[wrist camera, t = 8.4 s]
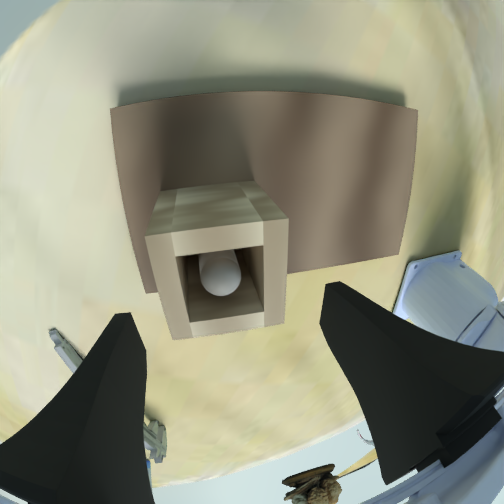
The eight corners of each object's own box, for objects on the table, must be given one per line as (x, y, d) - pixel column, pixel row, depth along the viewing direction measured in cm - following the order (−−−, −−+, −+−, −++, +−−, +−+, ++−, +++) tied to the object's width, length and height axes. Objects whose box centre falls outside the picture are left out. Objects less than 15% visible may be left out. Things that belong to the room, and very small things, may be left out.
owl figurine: (279, 484, 63) (292, 525, 48) (276, 478, 57) (291, 525, 42) (332, 467, 65) (348, 507, 50) (336, 459, 59) (355, 504, 44)
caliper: (166, 424, 30) (169, 465, 24) (159, 426, 30) (162, 466, 24) (56, 326, 19) (36, 380, 14) (49, 329, 19) (29, 381, 14)
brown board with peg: (404, 108, 16) (481, 122, 10) (388, 246, 22) (443, 294, 16) (117, 108, 13) (64, 108, 7) (148, 281, 19) (136, 360, 12)
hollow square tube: (254, 180, 15) (288, 218, 10) (256, 261, 18) (284, 323, 13) (160, 191, 15) (144, 236, 9) (174, 272, 17) (172, 340, 12)
